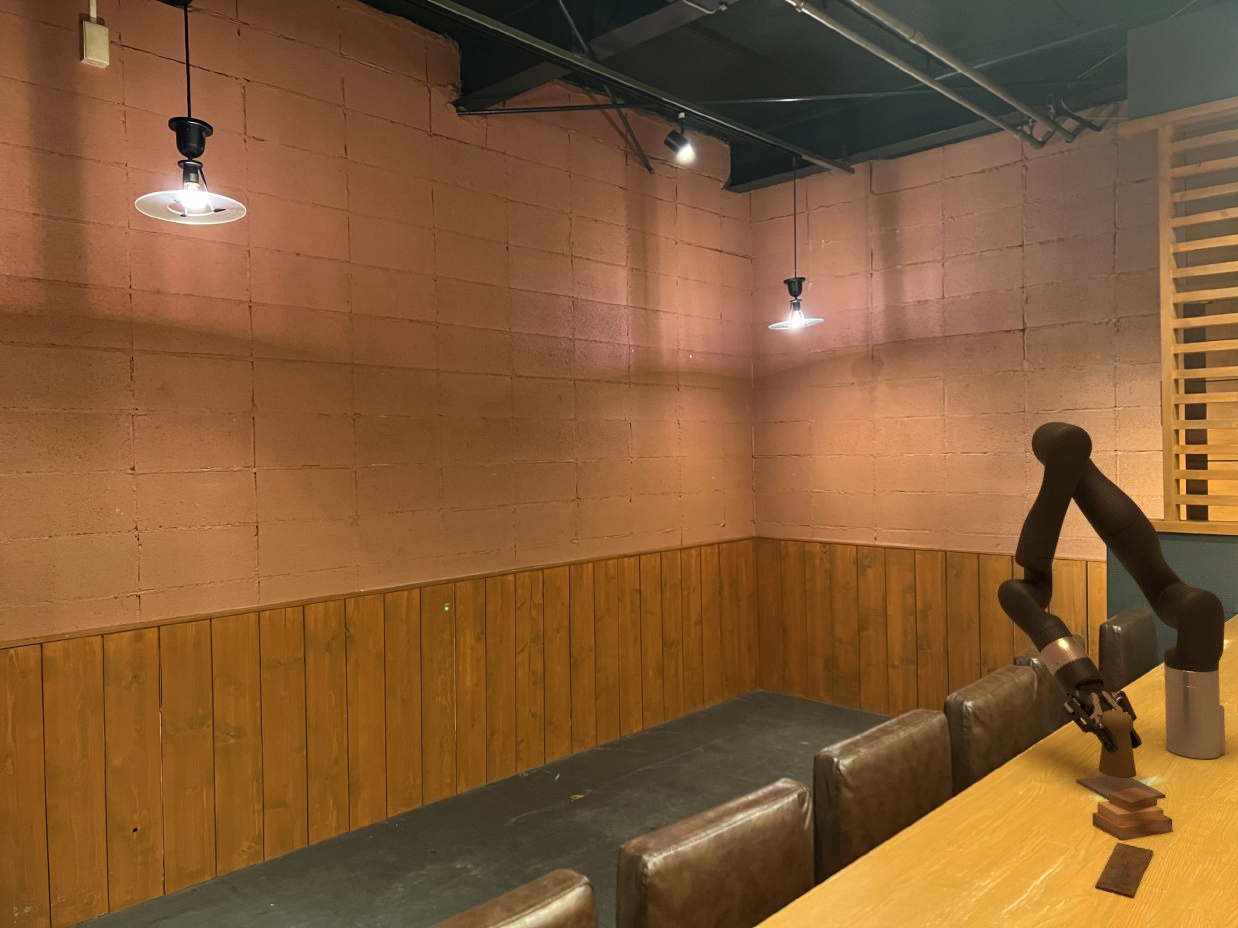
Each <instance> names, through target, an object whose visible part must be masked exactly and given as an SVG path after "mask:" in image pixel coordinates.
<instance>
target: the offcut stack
mask: <svg viewBox="0 0 1238 928" xmlns="http://www.w3.org/2000/svg"><path fill="white" fill-rule="evenodd" d="M1164 812H1165V811H1164V809H1163V808H1161V807H1159V806H1158V799H1157V795H1154V794H1152V793H1149V792H1146V791H1144V790H1141V789H1139V788H1136V787H1133V788H1129V789H1125V790H1121V791H1117V792H1113V793H1110V794H1109V800H1107V801H1106V800H1105V801H1099V802H1097V811H1096V812H1092V813H1091V814H1092V825H1093V826H1094V827H1097V828H1098V829H1099V830H1101V831H1103V832H1106V833H1107V834H1108V835H1109V834H1110V836H1113V837H1115V838H1117V839H1119V840H1121V841H1124V840H1125V841H1126V840H1130V839H1135V838H1142V837H1146V836H1152V835H1159V834H1163V833H1164V834H1165V833H1170V832H1173V818H1172V817H1169V816H1166V815H1165V814H1164Z"/></svg>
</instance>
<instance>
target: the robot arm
mask: <svg viewBox="0 0 1238 928" xmlns="http://www.w3.org/2000/svg"><path fill="white" fill-rule="evenodd" d="M1031 450H1032V453H1033V455H1034V457H1035V458H1036V459H1037V461H1039V463H1040V464H1041V465H1043V467H1044V470H1043V477H1042V483H1041V485H1040V489H1039V491H1038V493H1037V497H1036V498H1035V500H1034V502H1033V504H1032V506H1031V508H1030V510H1029V512H1028V514H1027V515H1026V517H1025V518H1024V519H1025V520H1024V521H1023V524H1022V527H1021V530H1020V534H1019V538H1018V542H1017V546H1016V550H1015V553H1014V561H1015V563H1016V565H1018V566H1019V567H1021V568H1023V578H1021V579H1020V578H1010V579H1007V580H1004V581H1003V582H1001V584H1000V585H999V587H998V589H997V601H998V603H999V606H1000V607H1001V609H1002V610H1003V612H1004V613H1005V615H1006V616H1007V617H1008V618H1009V619H1010V620H1011V621H1012V622H1013V623H1014V624H1015V625H1016V626H1017V627H1018V628H1019V629H1020V630H1021V631H1022V632H1024V634H1026V635H1027V636H1028V637H1029V639H1030V640H1031V642H1032V643H1033V645H1034V647H1035V648H1036V650H1037V651H1038V653H1039V654H1040V656H1041V658H1042V660H1043V662H1044V664H1045V666H1046V668H1047V669H1048V671H1049V672H1050V673H1051V675H1052V676H1053V679H1054V680H1055V681H1056V682H1057V684H1058V685H1059V687H1060V689H1061V690H1062V692H1063V693H1064V695H1065V696H1066V697H1068V698H1069V699H1068V700H1067V701H1066V702H1064V703H1063V704H1062V705H1061V708H1062V710H1063V711H1064V712H1065V713H1066V715H1068V716H1069V718H1070V719H1071V720H1072V721H1073V722H1074V724H1075V725H1076V726H1077V727H1078V728H1079V729H1080V730H1081V731H1082V732H1083V733H1085V734H1087V733H1092V734H1093V735H1094V736H1096V737H1097V739H1098V740H1099V742H1100V743H1101V746H1102V745H1103V747H1104V748H1105V749H1106V750H1107V751H1108V752H1109V753H1113V752H1115V751H1116V750H1118V749H1119V745H1118V744H1117V742H1116V741H1115V739H1114V738H1113V736H1112V735H1111V733H1110V732H1109V730H1108V729H1104V728H1105V725H1104V723H1103V721H1102V716H1103V712H1105V711H1108V710H1116V711H1122V712H1126V713H1128V714H1129V715H1130V716H1131V717H1132V719H1133V722H1135V721H1136V720H1137V719H1138V717H1137V715H1136V713H1135V710H1134V708H1133V706H1132V704H1131V701H1130V700H1129V698H1128V696H1127V694H1126V692H1125V691H1124V690H1119V691H1118V692H1113V691H1111V690H1110V689H1109V688H1108V687H1106V686H1105V684H1104V676H1103V674H1102V673H1101V671H1100V670H1099V669H1098V667H1097V666H1096V665H1095V663H1094V661H1093V660H1092V659H1091V657H1090V656H1089V655H1088V653H1087V651H1086V650H1085V649H1084V647H1083V646H1082V645H1081V644H1080V642H1079V641H1077V639H1076V638H1075V637H1074V635H1073V634H1072V632H1071V631H1070V630H1069V628H1068V627H1067V625H1066V623H1064V621H1063V620H1062V619H1061V618H1060V617H1059V616H1058V615H1056V614H1054V613H1053V614H1052V613H1050V612H1048V611H1046V609H1048V607H1049V606H1050V603H1051V601H1052V598H1053V587H1054V585H1053V579H1054V578H1053V561H1054V558H1055V555H1056V551H1057V546H1058V544H1059V538H1060V536H1061V533H1062V532H1061V531H1062V528H1063V525H1064V521H1065V518H1066V516H1067V512H1068V509H1069V506H1070V503H1071V501H1072V500H1073V502H1074V503H1075V504H1076V506H1077V507H1078V508H1079V510H1080V512H1081V513H1082V515H1083V517H1084V518H1085V519H1086V521H1087V522H1088V523H1089V524H1090V526H1091V527H1092V529H1093V530H1094V531H1095V533H1096V534H1097V536H1098V537H1099V538H1100V539H1101V541H1102V542H1103V543H1104V545H1105V546H1106V547H1107V549H1109V551H1110V552H1111V553H1112V554H1113V556H1114V557H1115V558H1116V559H1117V561H1118V562H1119V563H1120V564H1121V566H1123V568H1124V570H1125V571H1126V572H1127V573H1128V574H1129V575H1130V576H1131V578H1132V579H1133V580H1134V581H1135V583H1136V584H1137V586H1138V588H1139V589H1140V590H1141V592H1142V594H1143V595H1144V597H1145V599H1146V600H1147V602H1148V604H1149V605H1150V607H1151V609H1152V611H1153V612H1154V613H1155V615H1156V616H1157V618H1158V619H1159V620H1160V622H1162V623H1163V624H1164V625H1166V626H1167V627H1169V628H1171V629H1174V630H1176V644H1175V646H1174V647H1170V648H1167V649H1165V651H1164V654H1163V659H1164V660H1163V663H1164V665H1163V666H1164V667H1163V668H1164V696H1165V697H1164V704H1165V706H1164V707H1165V710H1164V711H1165V739H1166V741H1165V743H1166V744H1165V745H1166V747H1165V748H1166V749H1167V750H1168V751H1169V752H1170V753H1173V754H1175V755H1178V756H1181V757H1187V758H1191V759H1199V760H1200V759H1202V760H1209V759H1210V760H1211V759H1216V758H1219V757H1221V756H1222V755H1225V754H1226V727H1225V726H1226V723H1225V720H1226V718H1225V716H1226V715H1225V707H1224V706H1223V705H1221V702H1220V701H1221V699H1220V660H1221V658H1222V657H1223V653H1224V647H1225V645H1224V644H1225V643H1224V642H1225V623H1226V622H1225V621H1226V620H1225V611H1224V605H1223V603H1222V601H1221V599H1220V598H1219V597H1218V596H1217V595H1216V594H1215V593H1213V592H1211V591H1209V590H1206V589H1202V588H1199V587H1195V586H1190V585H1188V584H1186V583H1185V582H1184V581H1183V580H1182V579H1181V578H1180V577H1179V576H1178V575H1177V574H1176V573H1175V571H1174V570H1173V569H1172V567H1170V565H1169V564H1168V563H1167V561H1166V560H1165V558H1164V556H1163V551H1162V548H1161V542H1160V539H1159V538H1160V537H1159V535H1158V532H1157V530H1156V528H1155V527H1154V525H1153V524H1152V523H1153V522H1151V520H1149V518H1148V517H1147V515H1145V514H1146V513H1144V512H1143V509H1141V508H1140V506H1139V505H1138V504H1137V503H1136V502H1135V501H1134V500H1133V499H1132V498H1131V496H1129V495H1128V494H1127V493H1126V492H1124V491H1123V490H1122V488H1120V487H1119V486H1118V485H1117V484H1115V483H1114V482H1113V481H1112V480H1111V479H1109V478H1108V477H1107V476H1106V475H1105V474H1104V473H1103V471H1101V470H1100V469H1099V467H1097V465H1096V464H1095V463H1094V462H1093V460H1092V458H1091V454H1092V452H1093V442H1092V437H1091V436H1090V434H1089V433H1088V432H1087V430H1085V429H1084V428H1083V427H1080V426H1079V425H1075V424H1071V423H1067V422H1064V421H1051V422H1045V423H1043V424H1041V425H1039V427H1037V428H1036V430H1035V431H1034V432H1033V435H1032V439H1031ZM1130 737H1131V743H1132V749H1133V750H1134V749H1138V748H1140V746H1142V744H1143V742H1142V739H1141V737H1140V736H1139V734H1138V732H1137V731H1136V730H1135V728H1134V727H1133V729H1132V730H1131V731H1130Z"/></svg>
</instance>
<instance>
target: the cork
mask: <svg viewBox="0 0 1238 928" xmlns="http://www.w3.org/2000/svg"><path fill="white" fill-rule="evenodd" d="M1102 721H1103V723H1104V725H1105V728H1104V729H1108V730H1109V732H1110V733H1111V735H1112V736H1113V738H1114V739H1115V741H1116V742H1117V744H1118V745H1119V749H1118V750H1116V751H1115V752H1113V753H1109V752H1108V751H1107V750H1106V749H1105V748H1104V747H1103V745H1102V744H1101V748H1100V749H1101V750H1100V756H1099V763H1098V764H1099V766H1098V771H1099V773H1101V774H1103V775H1104V776H1111V777H1116V778H1135V777H1136V776H1137V770H1136V764H1135V763H1136V762H1135V758H1134V757H1135V755H1134V749H1132V743H1131V737H1130V731H1131V730H1132V729H1133V728H1134V721H1133V719H1132V717H1131V716H1130V715H1129V714H1128V713H1127V712H1122V711H1116V710H1114V709H1113V710H1108V711H1105V712H1103V716H1102Z"/></svg>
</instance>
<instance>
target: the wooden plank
mask: <svg viewBox="0 0 1238 928" xmlns="http://www.w3.org/2000/svg"><path fill="white" fill-rule="evenodd" d="M1153 854H1154V850H1153V849H1150V848H1144V847H1139V846H1136V845H1130V844H1127V843H1122V842H1116V844H1115V847H1114V848H1113V850H1112V852H1111V853H1110V856H1109V857H1108V860H1107V861H1106V864H1105V866H1104V868H1103V870H1102V872H1101V874H1100V876H1099V878H1098V880H1097V881H1096V883H1095V887H1094V888H1095V889H1098V890H1101V891H1104V892H1108V893H1111V894H1112V893H1113V894H1115V895H1119V896H1123V897H1126V898H1130V899H1133V898H1134V897H1135V894H1136V893H1137V890H1138V887H1139V885H1140V882H1141V880H1142V877H1143V876H1144V873H1145V871H1146V869H1147V867H1148V865H1149V863H1150V860H1151V858H1152V856H1153Z"/></svg>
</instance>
